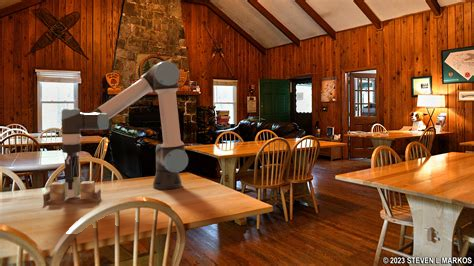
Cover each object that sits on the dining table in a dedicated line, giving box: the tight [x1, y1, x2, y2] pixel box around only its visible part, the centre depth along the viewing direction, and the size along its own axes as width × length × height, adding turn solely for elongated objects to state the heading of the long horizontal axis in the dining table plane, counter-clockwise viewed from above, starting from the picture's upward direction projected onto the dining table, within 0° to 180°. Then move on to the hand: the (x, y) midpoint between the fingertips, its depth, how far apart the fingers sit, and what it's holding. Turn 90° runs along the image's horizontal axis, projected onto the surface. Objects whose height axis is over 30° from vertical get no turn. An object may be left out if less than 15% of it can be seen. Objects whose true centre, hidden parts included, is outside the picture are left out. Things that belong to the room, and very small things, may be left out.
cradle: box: [42, 180, 102, 206], centre depth 159 cm, size 22×8×8 cm, turn 100°
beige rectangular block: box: [64, 176, 81, 197], centre depth 159 cm, size 5×5×8 cm
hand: (72, 194), depth 159 cm, fingers closed on beige rectangular block, 5 cm apart
